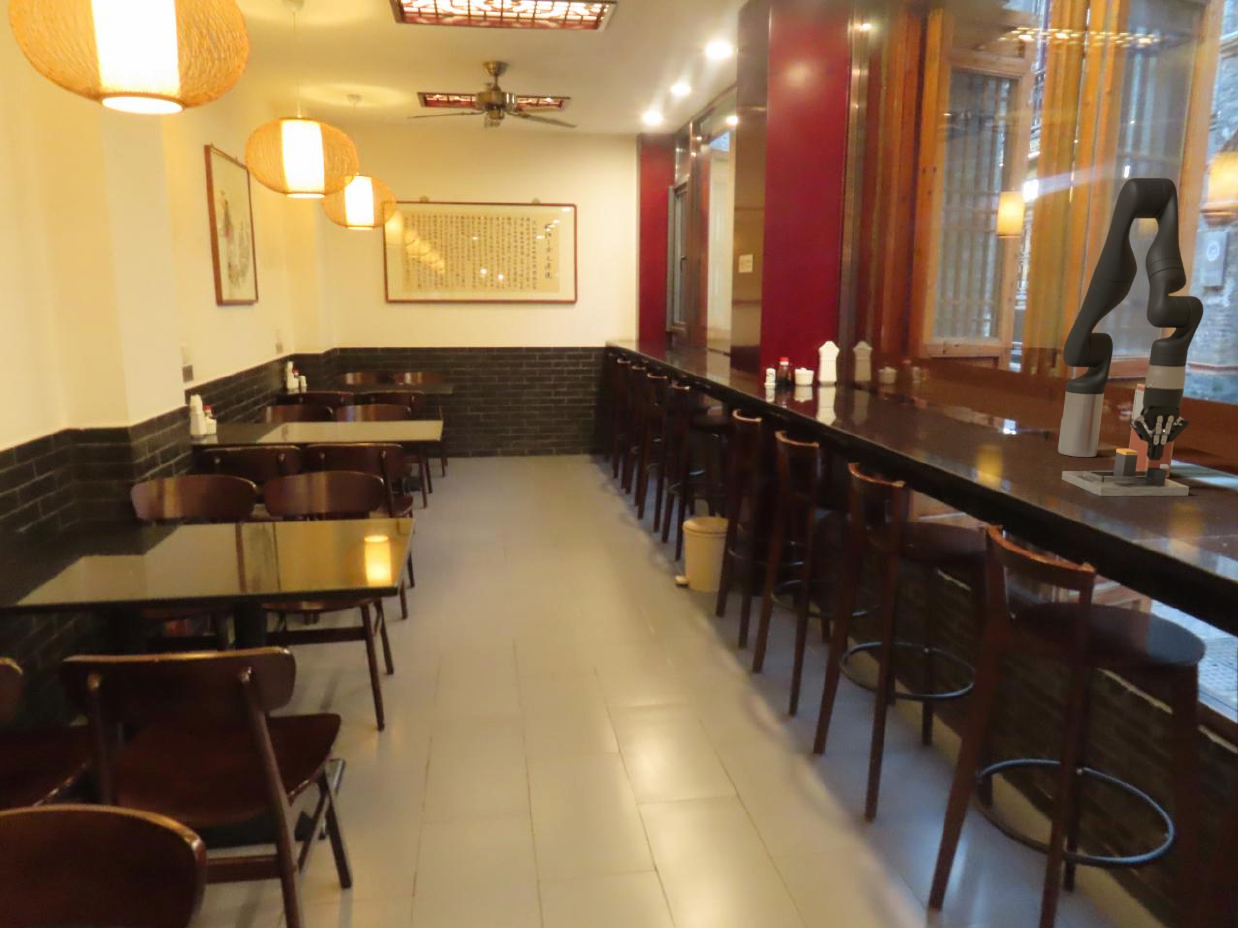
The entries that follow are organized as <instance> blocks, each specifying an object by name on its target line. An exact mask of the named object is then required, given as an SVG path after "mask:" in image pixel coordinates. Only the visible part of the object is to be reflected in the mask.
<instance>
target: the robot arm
mask: <svg viewBox="0 0 1238 928" xmlns="http://www.w3.org/2000/svg"><path fill="white" fill-rule="evenodd" d="M1178 200H1179V199H1178V191H1177V186H1176V184H1175V183H1174V181H1173V180H1172V179H1170V178H1167V177H1133V178H1129V179H1128V180H1126V181H1125V183H1124V184H1123V185H1122V187H1121V189H1120V191H1119V193H1118V195H1117V200H1116V203H1115V206H1114V211H1113V213H1112V216H1111V217H1112V219H1111V221H1110V225H1109V229H1108V232H1107V236H1106V239H1105V242H1104V245H1103V248H1102V250H1101V252H1100V256H1099V258H1098V261H1097V264H1096V265H1095V268H1094V271H1093V274H1092V276H1091V279H1090V282H1089V285H1088V287H1087V288H1088V289H1087V292H1086V294H1085V296H1084V297H1085V298H1084V299H1083V303H1082V305H1081V308H1080V309H1079V312H1078V314H1077V316H1076V318H1075V320H1074V322H1073V325H1072V326H1071V329H1070V331H1069V333H1068V335H1067V337H1066V339H1065V343H1064V346H1063V351H1062V359H1063V362H1064V363H1065V365H1066V366H1068V367H1074V368H1088V369H1087V371H1086V372H1085V373H1084V374H1082V375H1080V376H1078V377H1074V378H1072V379H1070V380H1068V381H1067V382H1066V387H1065V394H1064V395H1065V397H1064V406H1063V414H1062V417H1061V421H1060V430H1059V437H1058V438H1059V439H1058V447H1057V451H1058V453H1059V454H1061V455H1065V456H1071V457H1079V458H1093V457H1096V456H1097V455H1098V454H1097V453H1098V446H1099V445H1098V444H1099V440H1100V439H1099V437H1100V430H1101V423H1102V413H1103V405H1104V397H1105V390H1106V386H1107V383H1108V380H1109V374H1110V370H1111V369H1110V368H1111V363H1112V357H1113V354H1114V353H1113V351H1114V343H1113V339H1112V338H1113V337H1112V336H1111V335H1110V334H1108V333H1106V332H1093V331H1094V329H1095V328H1096V326H1097V325H1098V324H1099V322H1100V321H1102V319H1103V318H1104V317H1105V316H1107V315H1109V313H1110V312H1112V311H1114V310H1115V308H1116V307H1117V306H1119V305H1120V304H1121V303H1122V302H1123V301H1124V300H1125V299H1126V298H1127V296H1128V295H1129V293H1130V291H1131V288H1132V286H1133V283H1134V281H1135V279H1136V278H1135V277H1136V275H1137V273H1138V264H1137V261H1136V256H1135V253H1134V251H1133V247H1132V245H1131V242H1130V241H1131V240H1130V233H1131V228H1132V225H1133V223H1134V220H1136V219H1147V220H1148V219H1151V220H1152V219H1155V221H1156V224H1157V228H1158V230H1157V233H1156V236H1155V238H1154V239H1153V241H1152V243H1151V244H1150V246H1149V248H1148V250H1147V252H1146V257H1145V263H1144V264H1145V270H1146V271H1145V272H1146V274H1147V280H1148V284H1149V293H1148V304H1147V309H1146V319H1147V321H1148V323H1149V324H1151V326H1152V327H1154V328H1158V329H1166V328H1167V329H1175V330H1174V331H1173V333H1172V334H1171V335H1170V336H1167V337H1163V338H1158V339H1155V340H1154V341H1153V342H1152V344H1151V348H1150V356H1149V361H1148V368H1147V372H1146V376H1145V383H1144V384H1145V389H1144V396H1143V409H1142V411H1141V413H1140V416H1139V417H1138V418H1136V419H1135V420H1134V419H1132V418H1131V419H1130V420H1129V425H1130V427H1131V426H1132V427H1133V429H1134V430H1135V432H1136V433H1137V435H1138V437H1139V438H1140V440H1143V441H1146V442H1147V443H1148V449H1147V457H1148V459H1150V460H1160V458H1162V456H1163V449H1164V445H1165V443H1167V442H1173V441H1174V442H1175V440H1176V439H1177V438H1178V437H1179V435H1181V433H1182V432H1184V430H1185V429H1186V428H1187V427H1188V426H1189V425H1190V422H1189V420H1186V419H1184V418H1183V417H1182V416H1181V411H1180V408H1181V406H1182V402H1183V397H1184V390H1185V384H1186V366H1187V360H1188V353H1189V352H1188V351H1189V348H1190V346H1191V343H1192V340H1193V339H1194V336H1195V334H1196V332H1197V329H1198V328H1199V325H1200V324H1201V322H1202V319H1203V316H1204V304H1203V303H1202V300H1201V299H1200V298H1198V297H1196V296H1192V295H1170V294H1174V293H1177V292H1179V291H1181V290H1182V289H1184V287H1186V285H1187V276H1186V271H1185V268H1184V263H1183V258H1182V254H1181V249H1180V248H1181V246H1180V238H1179V237H1180V233H1179V232H1180V231H1179V229H1180V228H1179V225H1180V224H1179V203H1178V202H1179V201H1178ZM1144 423H1145V424H1146V429H1145V427H1144V425H1145V424H1144ZM1171 426H1172V427H1171ZM1132 427H1131V428H1132ZM1162 429H1163V430H1162Z"/></svg>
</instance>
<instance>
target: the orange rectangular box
mask: <svg viewBox="0 0 1238 928" xmlns="http://www.w3.org/2000/svg"><path fill="white" fill-rule="evenodd" d="M1144 389H1145V383H1137V386H1136V389H1134V392H1135V393H1134V399H1133V406H1132V414H1131V419H1134V420H1135V419H1136V418H1138V417H1139V416H1140V413H1141V411H1142V409H1143V396H1144ZM1144 424H1145V423H1144ZM1130 427H1131V430H1130V437H1129V444H1128V449H1131V450H1135V451H1138V457H1137V464H1136V471H1148V468H1161V469H1164V470H1166V478H1169V477H1170V472H1171V465H1172V460H1173V459H1172V458H1173V451H1174V445H1175V440H1174V441H1173V442H1167V443H1165V445H1164V449H1163V456H1162V458H1160V460H1150V459H1148V457H1147V449H1148V443H1147V442H1146V441H1143V440H1140V438H1139V437H1138V435H1137V433H1136V432H1135V430H1134V429H1133V427H1132V426H1131V425H1130ZM1144 427H1145V429H1146V424H1145V425H1144ZM1171 427H1172V426H1171ZM1162 430H1163V429H1162Z"/></svg>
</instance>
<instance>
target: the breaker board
mask: <svg viewBox="0 0 1238 928" xmlns="http://www.w3.org/2000/svg"><path fill="white" fill-rule="evenodd" d="M1113 473H1114V470H1063V471H1062V475H1061V480H1063V481H1065V482H1067V483H1069V484H1072V485H1074V486H1077V487H1078V488H1081V489H1083V490H1085V491H1088V492H1090V493H1092V494H1093V495H1097V496H1100V497H1142V496H1143V497H1149V496H1150V497H1151V496H1152V497H1154V496H1157V497H1158V496H1159V497H1161V496H1163V497H1164V496H1165V497H1167V496H1168V497H1170V496H1174V497H1175V496H1177V497H1178V496H1179V497H1180V496H1184V497H1185V496H1189V492H1190V491H1189V489H1190V486H1189V485H1185V484H1183V483H1180V482H1177V481H1173V480H1172V479H1168V478H1167V477H1166V470H1164V469H1161V468H1148V471H1135V476H1115V475H1113Z"/></svg>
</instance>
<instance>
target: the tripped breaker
mask: <svg viewBox="0 0 1238 928" xmlns="http://www.w3.org/2000/svg"><path fill="white" fill-rule="evenodd" d="M1137 457H1138V451H1135V450H1131V449H1129V448H1116V452H1115V458H1114V466H1113V467H1114V468H1113V471H1114V473H1113V475H1115V476H1135V471H1136V464H1137Z"/></svg>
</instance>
